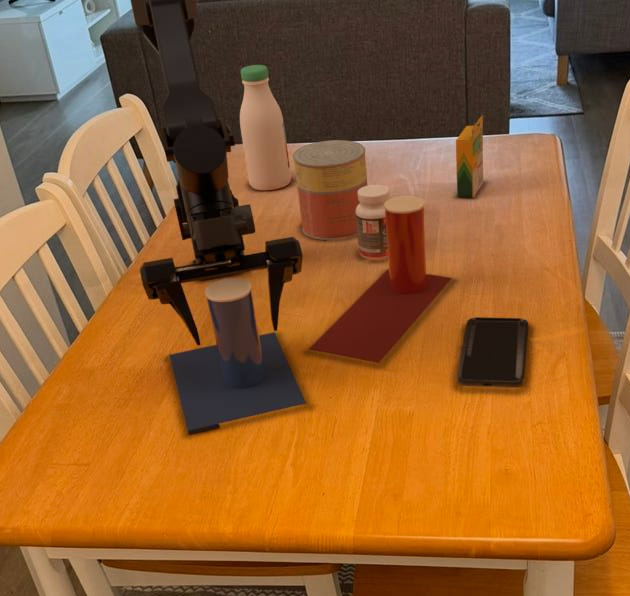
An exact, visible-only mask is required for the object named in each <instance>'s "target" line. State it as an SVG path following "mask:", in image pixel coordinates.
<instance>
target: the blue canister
mask: <svg viewBox="0 0 630 596" xmlns="http://www.w3.org/2000/svg"><path fill="white" fill-rule="evenodd" d="M252 286H253V285H252V283H251V282H250V281H249V280H247V279H244V278H240V277H227V278H222V279H219V280H216V281H214V282H211V283H210V284H209V285H207V286H206V287H205V288H204V296H205V298H206V302H207V307H208V312H209V316H210V320H211V321H210V322H211V325H212V330H213V335H214V340H215V345H217V350H218V355H219V360H220V364H221V369H222V374H223V379H224V382H225V383H226V384H227V385H228V386H230V387H233V388H247V387H251V386H254V385H257V384H258V383H260V382H261V381H262V380H263V379H264V378H265V376H266V372H265V366H264V360H263V355H262V349H261V343H260V337H259V335H260V333H259V326H258V319H257V315H256V309H255V304H254V298H253V292H252V290H253V288H252Z"/></svg>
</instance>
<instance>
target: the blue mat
mask: <svg viewBox="0 0 630 596" xmlns="http://www.w3.org/2000/svg"><path fill="white" fill-rule="evenodd" d="M259 337H260V343H261V349H262V355H263V360H264V366H265V372H266V376H265V378H264V379H263V380H262V381H261V382H260V383H258V384H257V385H254V386H251V387H247V388H233V387H230V386H228V385H227V384H226V383H225V382H224V379H223V374H222V369H221V364H220V360H219V355H218V350H217V345H216V344H212V345H208V346H204V347H199V348H195V349H190V350H186V351H181V352H177V353H171V354H169V355H168V356H169V360H170V364H171V368H172V373H173V375H174V381H175V383H176V384H175V386H176V389H177V392H178V396H179V397H178V398H179V400H180V404H181V405H180V406H181V409H182V413H183V418H184V421H185V426H186V430H187V434H188V435H192V434H197V433H201V432H206V431H211V430H215V429H219V428H221V426H220V424H224V423H228V422H233V421H236V420H241V419H245V418H249V417H254V416H259V415H262V414H268V413H271V412H275V411H280V410H284V409H285V410H286V409H289V408H293V407H299V406H302V405H306V404H307V402H306V399H305V397H304V395H303V393H302V390H301V388H300V386H299V384H298V382H297V379H296V377H295V375H294V372H293V370H292V368H291V366H290V364H289V362H288V359H287V357H286V355H285V353H284V351H283V348H282V346H281V344H280V342H279V339H278V337H277V335H276V333H275V331H274V332H269V333H264V334H259Z"/></svg>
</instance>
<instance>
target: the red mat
mask: <svg viewBox="0 0 630 596" xmlns="http://www.w3.org/2000/svg"><path fill="white" fill-rule="evenodd" d="M426 276H427V286H426V288H425V289H423V290H422V291H420V292H417V293H412V294H401V293H397V292H394V291H393V290H392V289H391V288H390V279H389V268H387V269H386V271H384V272H383V273H382V274H381V276H379V278H377V279H376V280H375V282H373V284H371V285H370V286H369V288H368V289H367V290H366V291H365V292H363V294H362V295H361V296H359V298H358V299H357V300H356V301H355V302H354V303H353V304H352V305H351V306H350V307H349V308H348V309H347V310H346V311H345V312H344V313H343V314H342V315H341V316H340V317H339V318H338V319H337V320H336V321H335V322H334V323H333V324H332V325H331V326H330V327H329V328H327V330H326V331H325V332H324V333H323V334H322V335H321V336H320V337H319V338H318V339H317V340H316V341H315V342H314V343H313V344H312V345H311V346H310V347H309V349H308V350H311V351H315V352H321V353H325V354H330V355H336V356H341V357H347V358H350V359H355V360H361V361H366V362H371V363H377V364H380V363H381V362H382V360H384V358H385V357H386V356H387V354H388V353H389V352H390V351H391V350H392V348H393V347H394V346H395V345H396V344H397V343H398V342H399V340H400V339H401V338H402V337H403V336H404V335H405V333H406V332H407V331H408V330H409V329H410V328H411V327H412V325H413V324H414V323H415V322H416V321H417V319H418V318H419V317H420V316H421V315H422V314H423V313H424V312H425V310H426V309H427V308H428V307H429V306H430V304H432V303H433V301H434V300H435V299H436V298H437V297H438V295H439V294H440V293H441V292H442V290H443V289H444V288H445V287H446V286H447V285H448V284H449V283H450V281H451V280H452V277H450V276H449V277H448V276H442V275H435V274H429V273H426Z"/></svg>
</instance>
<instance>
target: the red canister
mask: <svg viewBox="0 0 630 596" xmlns="http://www.w3.org/2000/svg"><path fill="white" fill-rule="evenodd" d="M384 208H385V218H386V233H387V248H388V257H387V263H388V269H389V279H390V288H391V289H392V290H393V291H394V292H397V293H401V294H412V293H417V292H420V291H422V290H423V289H425V288H426V286H427V276H426V274H427V256H426V255H427V253H426V252H427V249H426V227H425V226H426V225H425V200H424V199H423V198H422V197H419V196H416V195H397V196H394V197H390V198H389V200H387V201H386V202H385V203H384Z"/></svg>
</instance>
